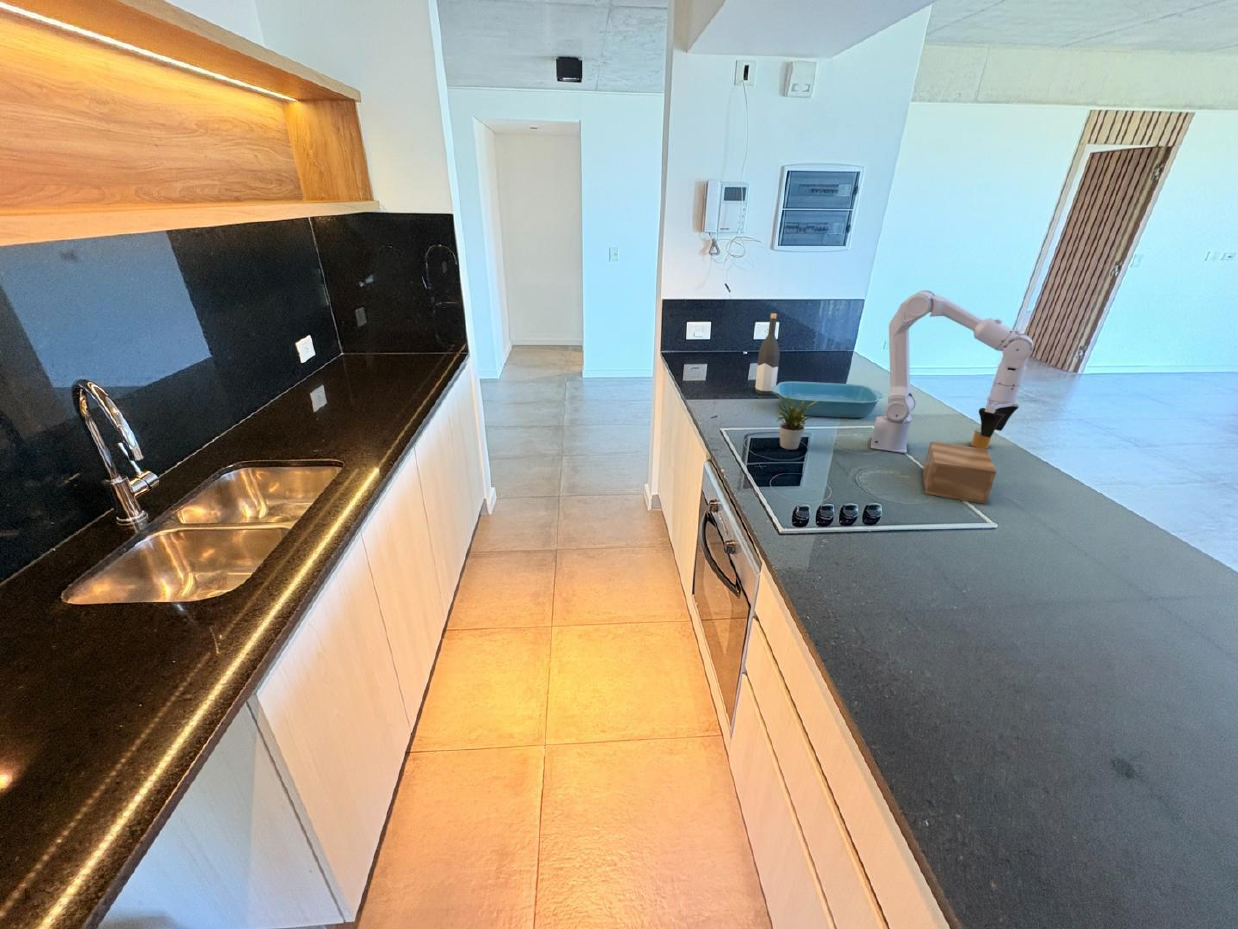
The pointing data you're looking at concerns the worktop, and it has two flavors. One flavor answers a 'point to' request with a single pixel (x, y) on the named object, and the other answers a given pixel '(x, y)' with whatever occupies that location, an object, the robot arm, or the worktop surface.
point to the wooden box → (958, 472)
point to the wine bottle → (768, 361)
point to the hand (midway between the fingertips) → (991, 432)
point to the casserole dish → (829, 398)
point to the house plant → (792, 424)
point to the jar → (980, 440)
